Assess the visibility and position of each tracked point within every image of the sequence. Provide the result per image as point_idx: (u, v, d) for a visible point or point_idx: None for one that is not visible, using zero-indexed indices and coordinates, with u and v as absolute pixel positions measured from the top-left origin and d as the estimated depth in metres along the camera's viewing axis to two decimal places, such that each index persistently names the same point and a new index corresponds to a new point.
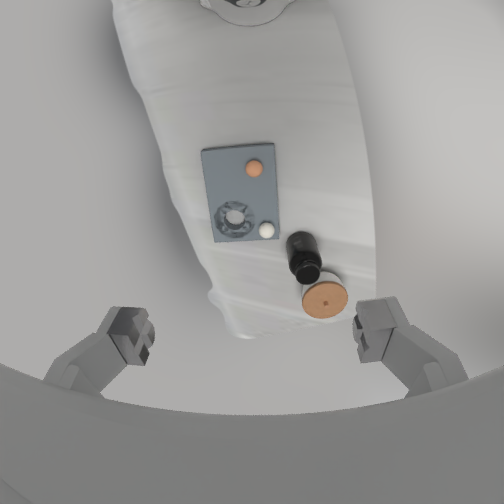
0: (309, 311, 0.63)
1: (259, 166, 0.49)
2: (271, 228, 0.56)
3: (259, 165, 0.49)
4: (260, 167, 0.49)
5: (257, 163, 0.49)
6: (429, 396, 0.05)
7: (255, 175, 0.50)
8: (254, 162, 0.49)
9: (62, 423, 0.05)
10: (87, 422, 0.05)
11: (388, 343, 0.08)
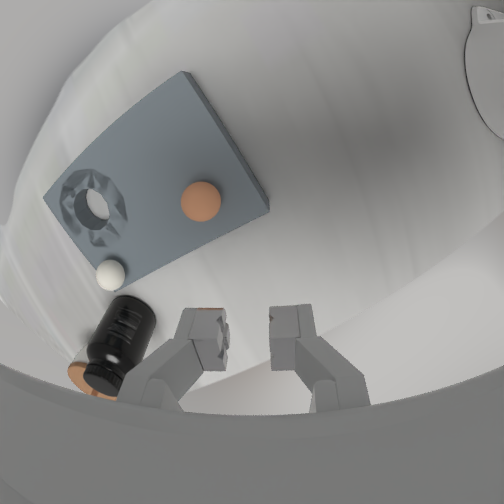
0: (72, 376, 0.32)
1: (212, 214, 0.21)
2: (117, 284, 0.26)
3: (214, 212, 0.21)
4: (211, 216, 0.21)
5: (216, 206, 0.21)
6: (429, 396, 0.05)
7: (188, 216, 0.21)
8: (215, 198, 0.21)
9: (62, 423, 0.05)
10: (87, 422, 0.05)
11: (296, 352, 0.08)
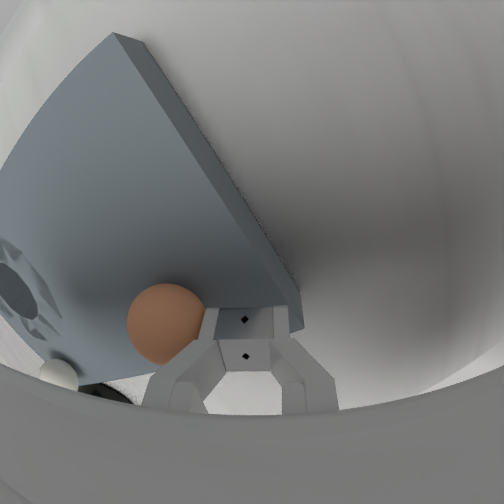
0: None
1: None
2: None
3: None
4: None
5: None
6: (429, 396, 0.05)
7: (145, 357, 0.10)
8: (195, 333, 0.09)
9: (62, 423, 0.05)
10: (87, 422, 0.05)
11: (270, 354, 0.09)
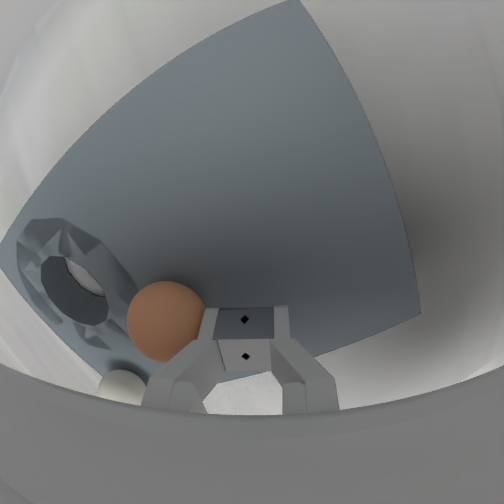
0: None
1: None
2: None
3: None
4: None
5: None
6: (429, 396, 0.05)
7: None
8: None
9: (62, 423, 0.05)
10: (87, 422, 0.05)
11: (270, 353, 0.09)
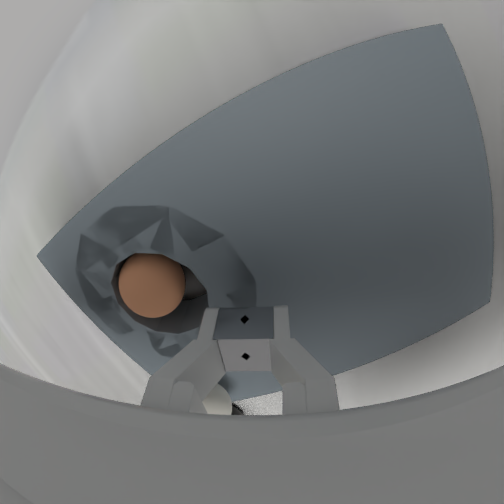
0: None
1: None
2: None
3: None
4: None
5: None
6: (429, 396, 0.05)
7: None
8: (119, 281, 0.12)
9: (62, 423, 0.05)
10: (87, 422, 0.05)
11: (270, 354, 0.09)
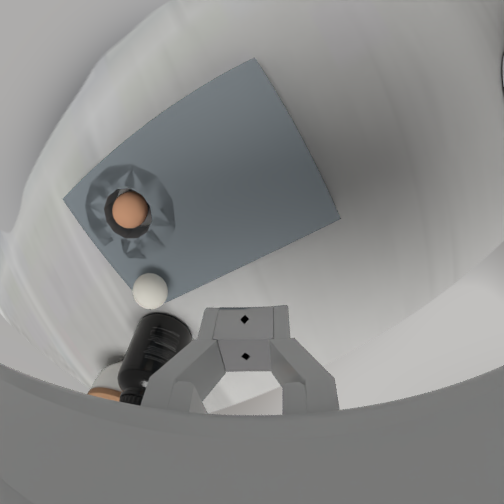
0: None
1: None
2: (161, 302, 0.23)
3: None
4: None
5: (113, 216, 0.21)
6: (429, 396, 0.05)
7: None
8: (113, 210, 0.21)
9: (62, 423, 0.05)
10: (87, 422, 0.05)
11: (270, 353, 0.09)
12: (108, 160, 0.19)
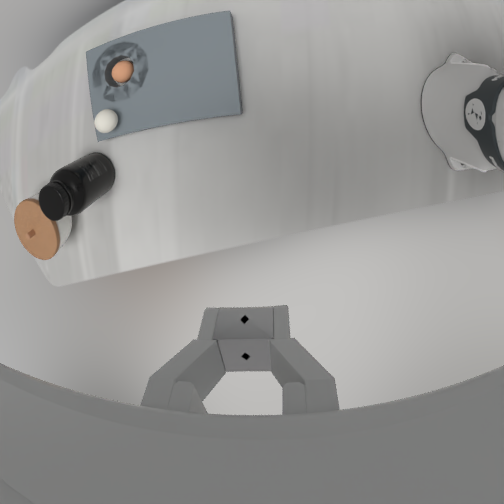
0: (18, 213, 0.32)
1: None
2: (109, 127, 0.29)
3: (112, 74, 0.27)
4: (112, 76, 0.27)
5: (112, 70, 0.26)
6: (429, 396, 0.05)
7: None
8: (114, 67, 0.26)
9: (62, 423, 0.05)
10: (87, 422, 0.05)
11: (270, 353, 0.09)
12: (125, 37, 0.24)
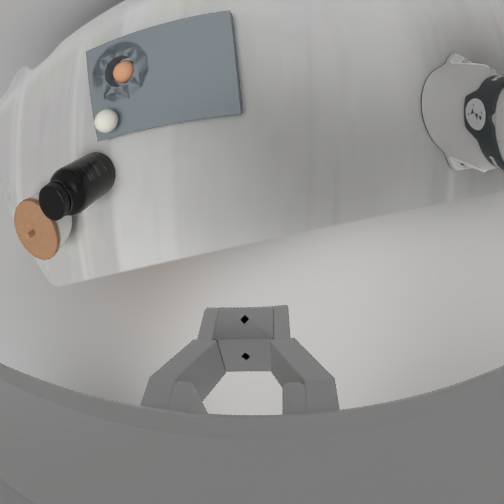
0: (18, 213, 0.32)
1: (113, 75, 0.27)
2: (109, 127, 0.29)
3: (114, 74, 0.27)
4: (114, 76, 0.27)
5: (115, 71, 0.26)
6: (429, 396, 0.05)
7: None
8: (116, 67, 0.26)
9: (62, 423, 0.05)
10: (87, 422, 0.05)
11: (270, 353, 0.09)
12: (125, 37, 0.24)
